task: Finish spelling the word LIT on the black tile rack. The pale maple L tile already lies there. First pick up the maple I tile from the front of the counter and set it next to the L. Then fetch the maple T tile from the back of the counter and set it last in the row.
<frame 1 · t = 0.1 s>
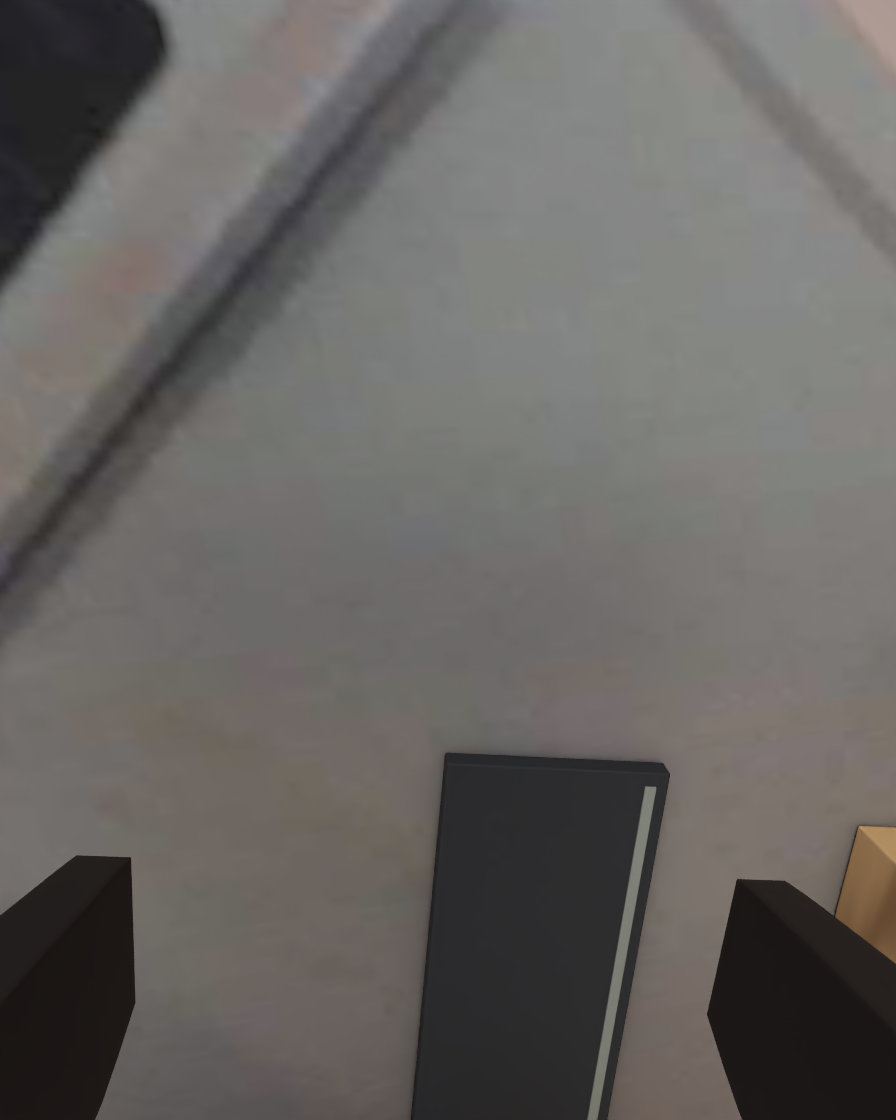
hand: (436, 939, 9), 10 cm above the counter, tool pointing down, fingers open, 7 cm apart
black tile rack: (520, 1015, 22), on the counter
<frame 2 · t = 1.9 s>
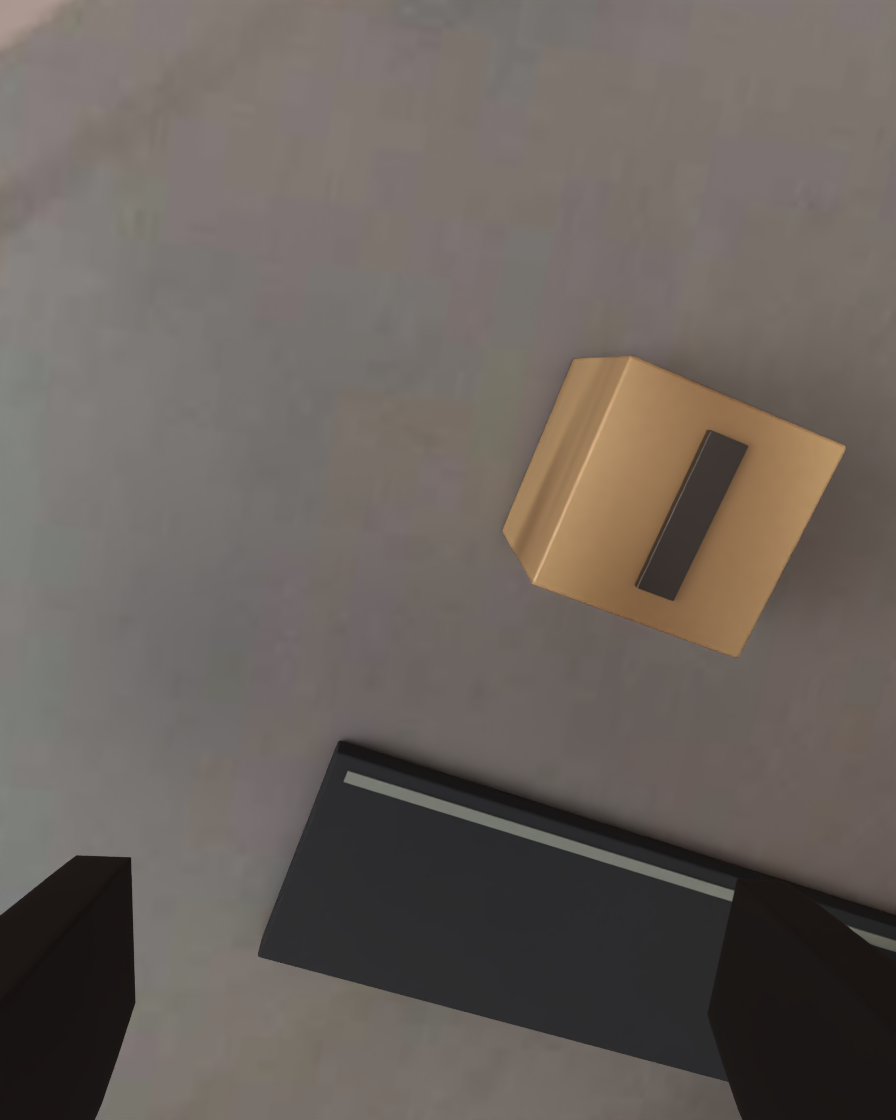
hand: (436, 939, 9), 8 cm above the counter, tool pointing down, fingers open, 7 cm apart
tile I: (619, 480, 16), on the counter
black tile rack: (615, 935, 19), on the counter
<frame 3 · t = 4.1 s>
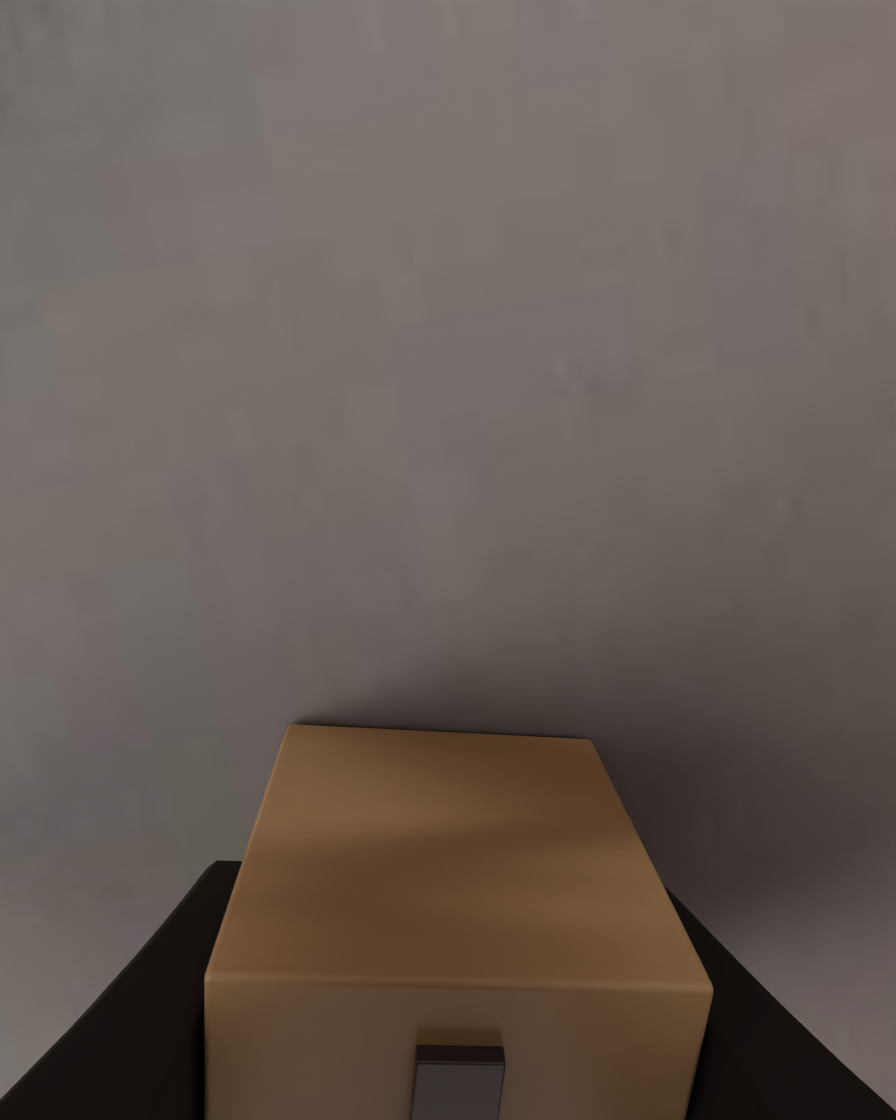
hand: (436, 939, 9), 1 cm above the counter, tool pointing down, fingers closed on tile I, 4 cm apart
tile I: (429, 861, 10), on the counter, touching gripper
when the fingers open (2 cm above the counter, at t = 7.8 s): tile I stays where it is, resting on black tile rack.
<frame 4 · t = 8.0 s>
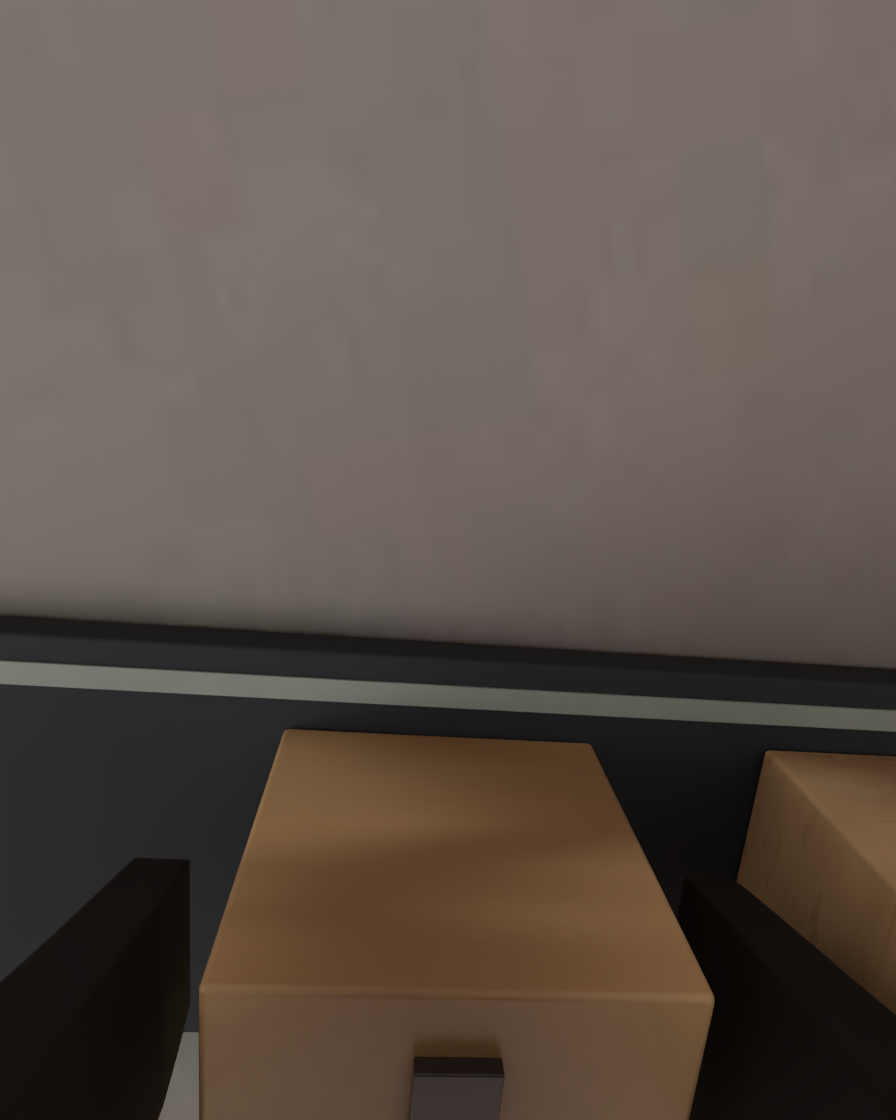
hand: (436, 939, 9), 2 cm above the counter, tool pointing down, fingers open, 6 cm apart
tile I: (428, 866, 10), point 1 cm above the counter, touching black tile rack
tile L: (869, 879, 10), point 1 cm above the counter, touching gripper, black tile rack
black tile rack: (430, 835, 10), on the counter
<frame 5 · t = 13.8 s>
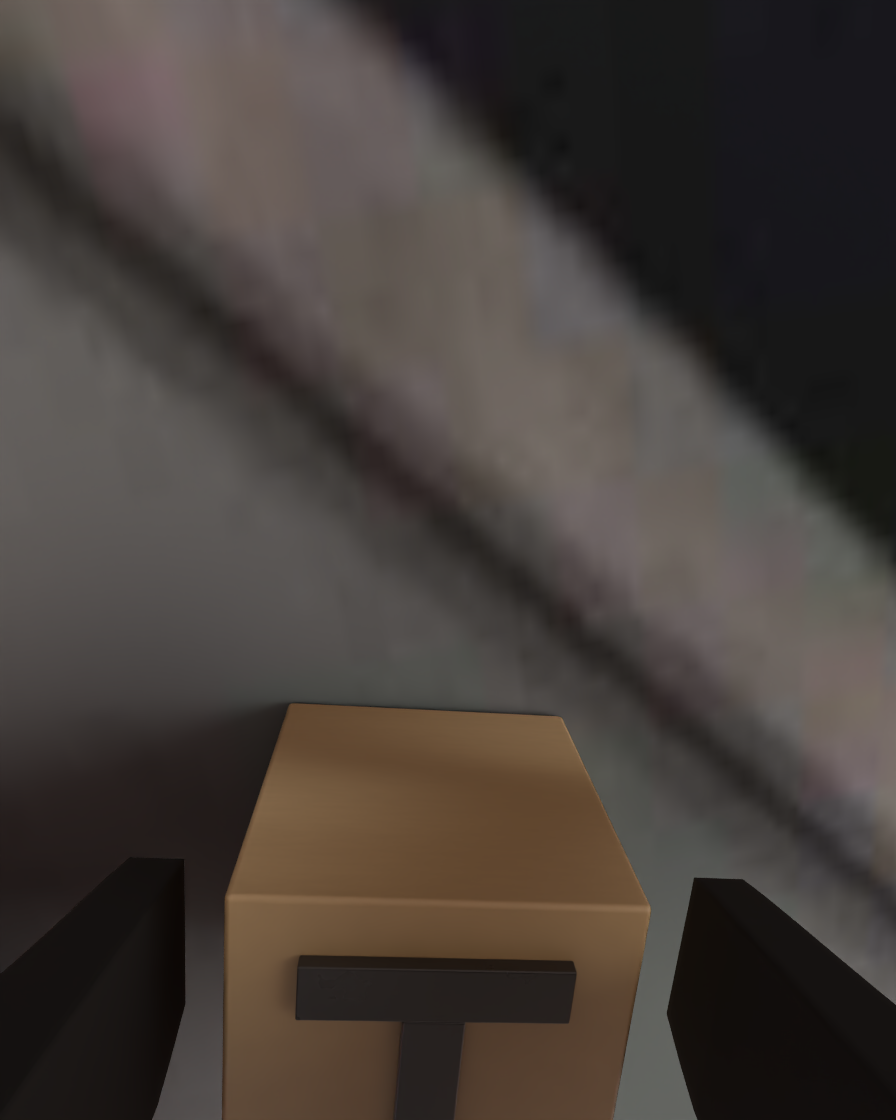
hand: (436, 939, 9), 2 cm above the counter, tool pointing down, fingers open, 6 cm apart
tile T: (417, 828, 11), on the counter
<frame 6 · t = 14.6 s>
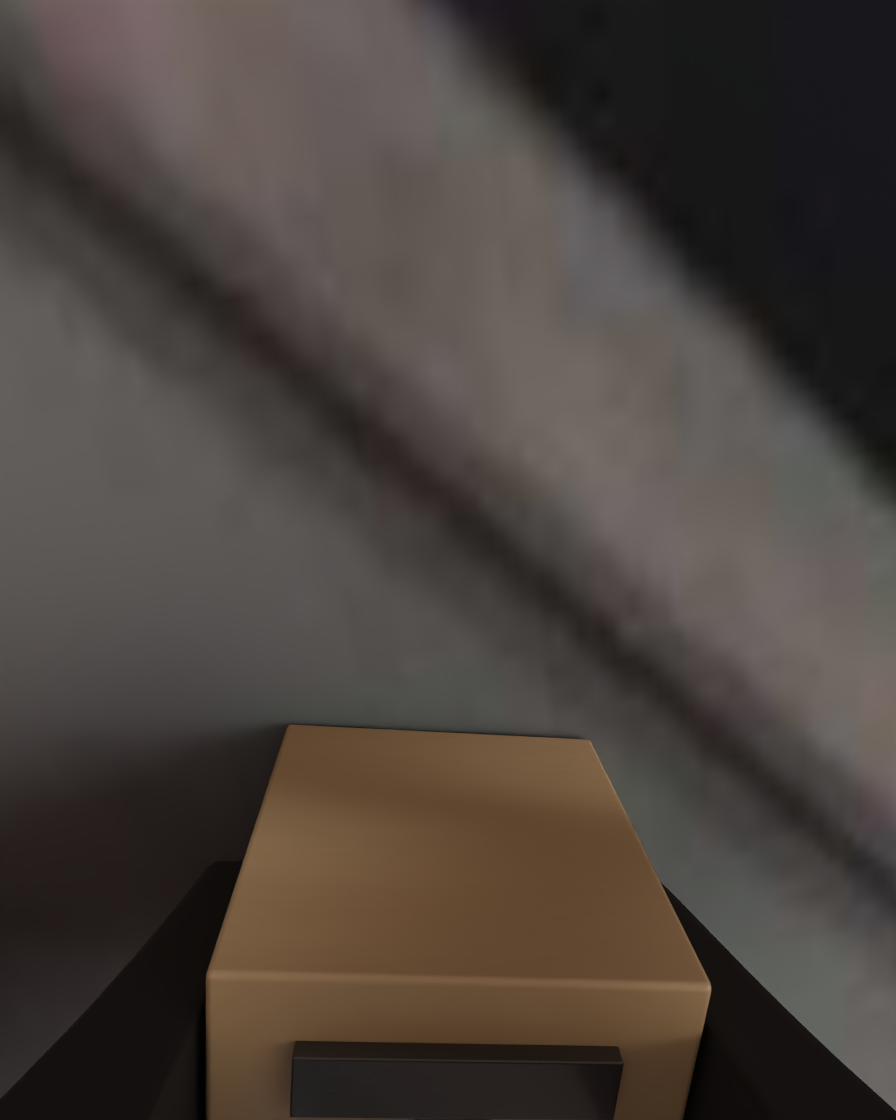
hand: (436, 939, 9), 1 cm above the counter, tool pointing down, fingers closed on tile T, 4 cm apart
tile T: (429, 861, 10), on the counter, touching gripper
when the fingers open (2 cm above the counter, at t = 19.2 s): tile T stays where it is, resting on black tile rack.
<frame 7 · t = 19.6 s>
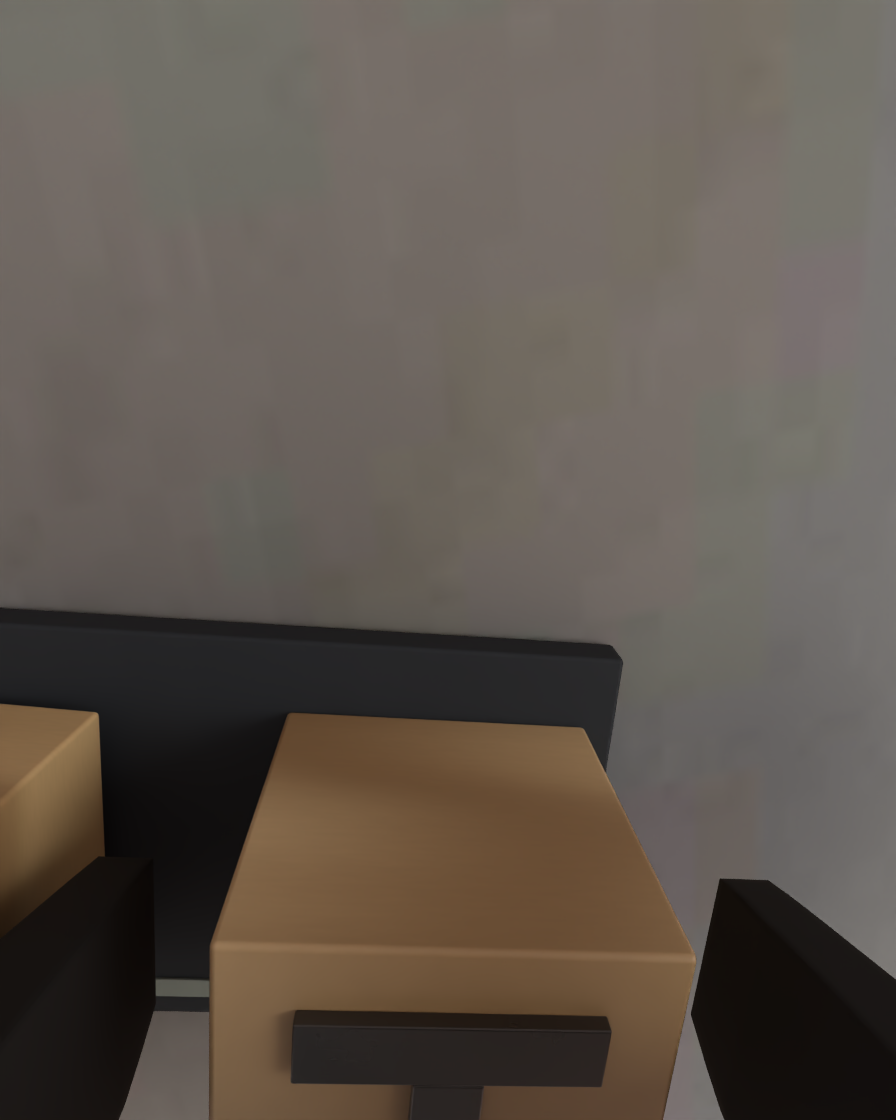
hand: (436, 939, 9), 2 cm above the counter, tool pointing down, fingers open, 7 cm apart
tile T: (426, 846, 10), point 1 cm above the counter, touching black tile rack
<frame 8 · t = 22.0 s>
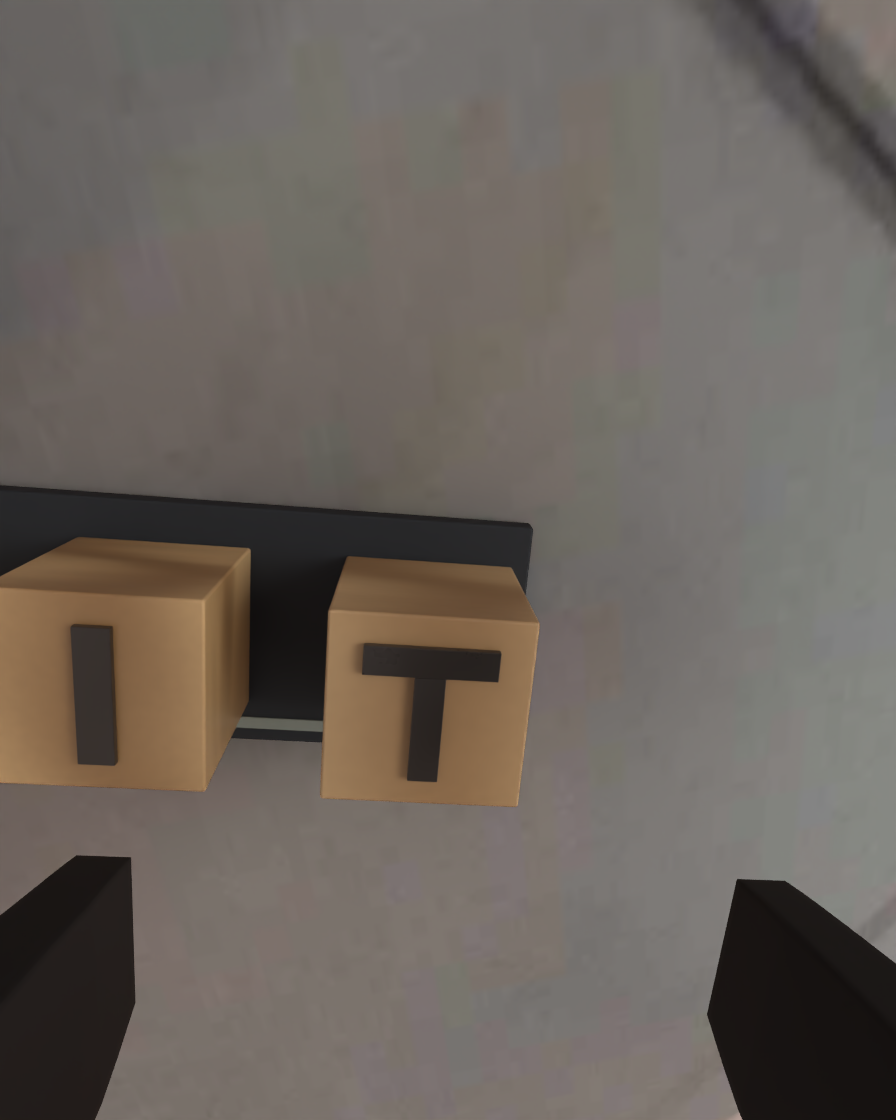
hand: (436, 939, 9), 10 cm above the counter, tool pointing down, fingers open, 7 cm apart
tile I: (166, 622, 17), point 1 cm above the counter, touching black tile rack
tile T: (423, 638, 18), point 1 cm above the counter, touching black tile rack
black tile rack: (172, 615, 18), on the counter
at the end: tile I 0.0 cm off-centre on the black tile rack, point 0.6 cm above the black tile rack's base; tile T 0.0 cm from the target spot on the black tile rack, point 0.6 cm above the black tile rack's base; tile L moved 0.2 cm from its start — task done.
